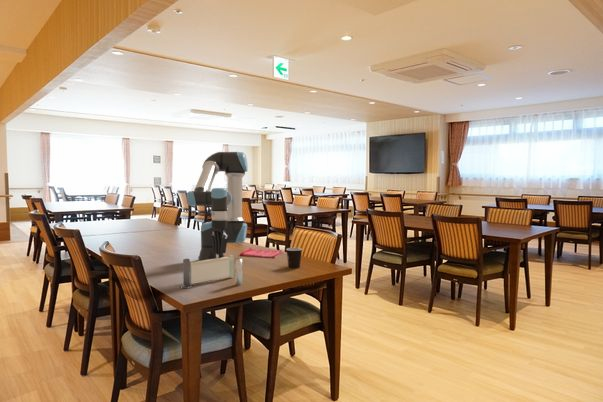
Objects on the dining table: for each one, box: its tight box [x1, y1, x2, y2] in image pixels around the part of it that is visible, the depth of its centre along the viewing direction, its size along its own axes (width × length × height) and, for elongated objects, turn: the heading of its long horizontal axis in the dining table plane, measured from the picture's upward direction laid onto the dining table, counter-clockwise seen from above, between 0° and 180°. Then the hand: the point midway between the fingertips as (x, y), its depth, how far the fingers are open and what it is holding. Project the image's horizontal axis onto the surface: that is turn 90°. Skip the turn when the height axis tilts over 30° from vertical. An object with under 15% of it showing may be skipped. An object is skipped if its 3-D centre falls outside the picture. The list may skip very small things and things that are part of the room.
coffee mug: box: [286, 247, 303, 269], centre depth 221 cm, size 12×9×10 cm
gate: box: [182, 254, 235, 286], centre depth 188 cm, size 25×3×12 cm, turn 130°
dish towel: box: [239, 247, 283, 259], centre depth 253 cm, size 17×24×3 cm
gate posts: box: [179, 258, 243, 289], centre depth 183 cm, size 28×7×12 cm, turn 105°
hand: (219, 266), depth 196 cm, fingers closed
